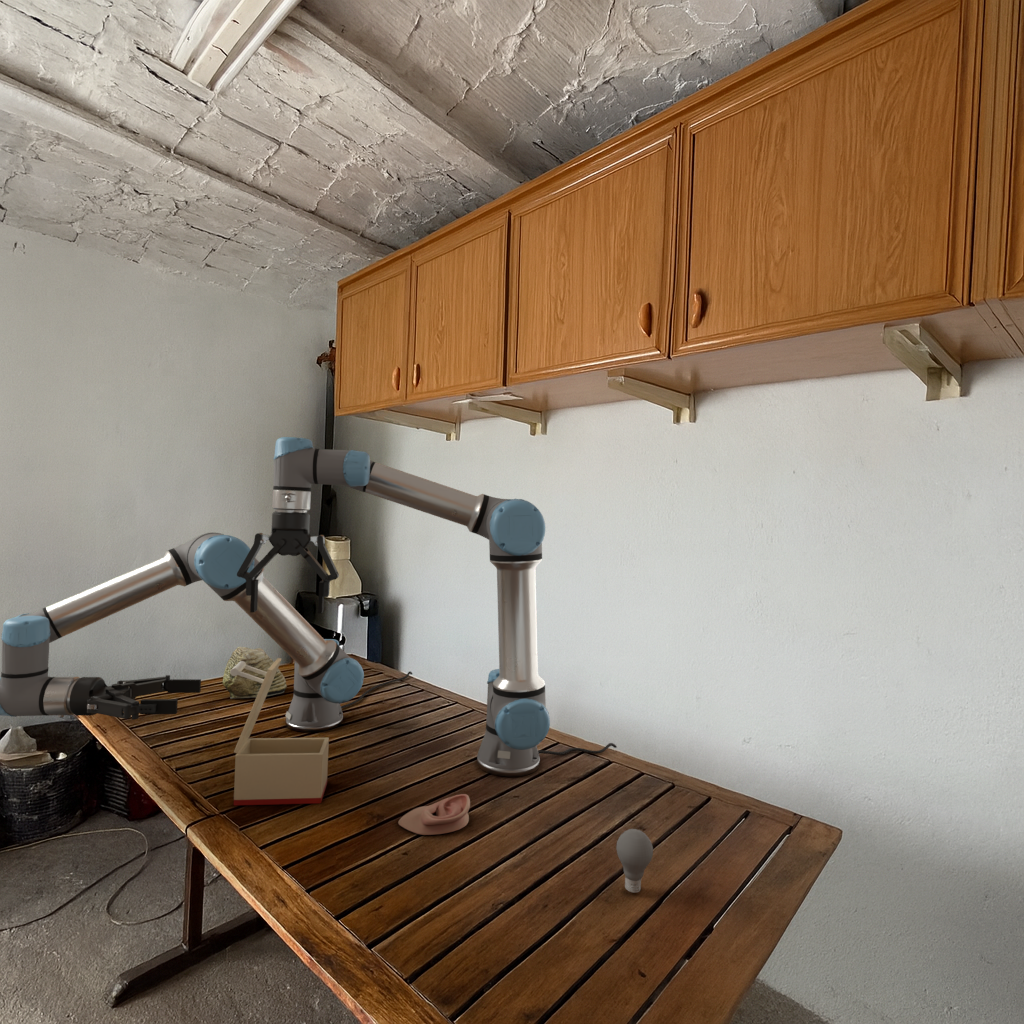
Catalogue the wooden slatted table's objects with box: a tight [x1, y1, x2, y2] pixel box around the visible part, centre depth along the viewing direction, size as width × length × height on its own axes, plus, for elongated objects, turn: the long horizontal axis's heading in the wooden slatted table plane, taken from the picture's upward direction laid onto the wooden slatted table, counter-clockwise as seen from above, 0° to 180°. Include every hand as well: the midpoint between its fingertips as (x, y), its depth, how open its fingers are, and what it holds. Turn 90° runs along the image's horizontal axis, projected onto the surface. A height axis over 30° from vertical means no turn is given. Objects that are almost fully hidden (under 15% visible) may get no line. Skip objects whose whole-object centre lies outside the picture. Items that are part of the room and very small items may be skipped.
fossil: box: [222, 646, 288, 699], centre depth 198 cm, size 9×18×15 cm, turn 132°
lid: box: [230, 657, 283, 754], centre depth 133 cm, size 18×9×8 cm
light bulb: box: [615, 828, 654, 894], centre depth 106 cm, size 6×6×10 cm
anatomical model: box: [397, 793, 471, 836], centre depth 125 cm, size 13×4×12 cm
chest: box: [233, 737, 330, 806], centre depth 134 cm, size 17×9×10 cm, turn 99°
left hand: (189, 695), depth 131 cm, fingers open, 13 cm apart
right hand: (287, 612), depth 134 cm, fingers open, 13 cm apart
